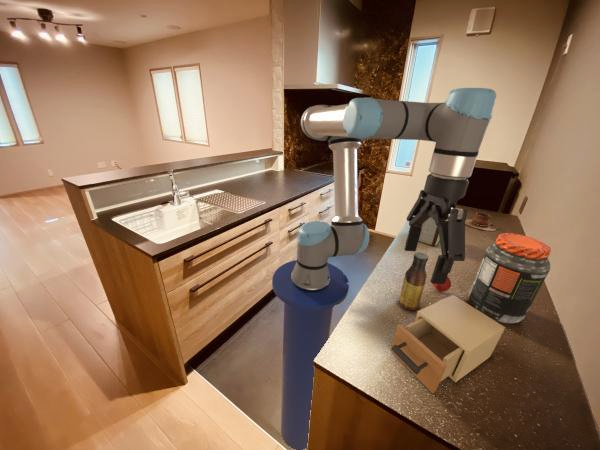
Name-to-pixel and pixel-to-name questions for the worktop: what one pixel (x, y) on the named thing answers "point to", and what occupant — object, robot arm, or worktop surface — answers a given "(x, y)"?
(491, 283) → the supplement tub
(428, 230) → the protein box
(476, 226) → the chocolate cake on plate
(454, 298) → the cabinet
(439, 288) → the onion
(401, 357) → the drawer
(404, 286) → the sauce bottle
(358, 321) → the worktop surface
